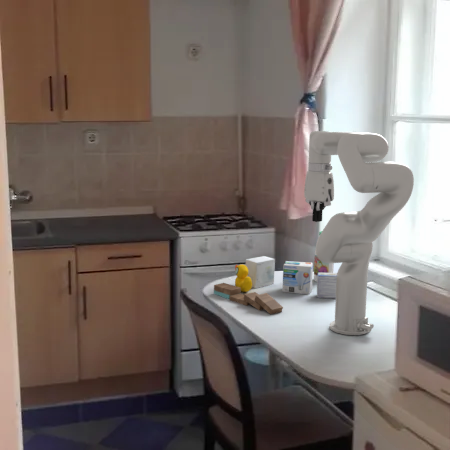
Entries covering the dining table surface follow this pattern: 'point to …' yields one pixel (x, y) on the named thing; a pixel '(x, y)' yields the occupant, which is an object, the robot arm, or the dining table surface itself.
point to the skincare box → (261, 271)
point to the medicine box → (326, 285)
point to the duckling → (243, 278)
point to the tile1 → (268, 303)
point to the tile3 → (239, 299)
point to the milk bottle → (321, 266)
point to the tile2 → (252, 300)
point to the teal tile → (222, 294)
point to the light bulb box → (297, 277)
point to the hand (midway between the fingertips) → (317, 221)
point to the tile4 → (227, 289)
